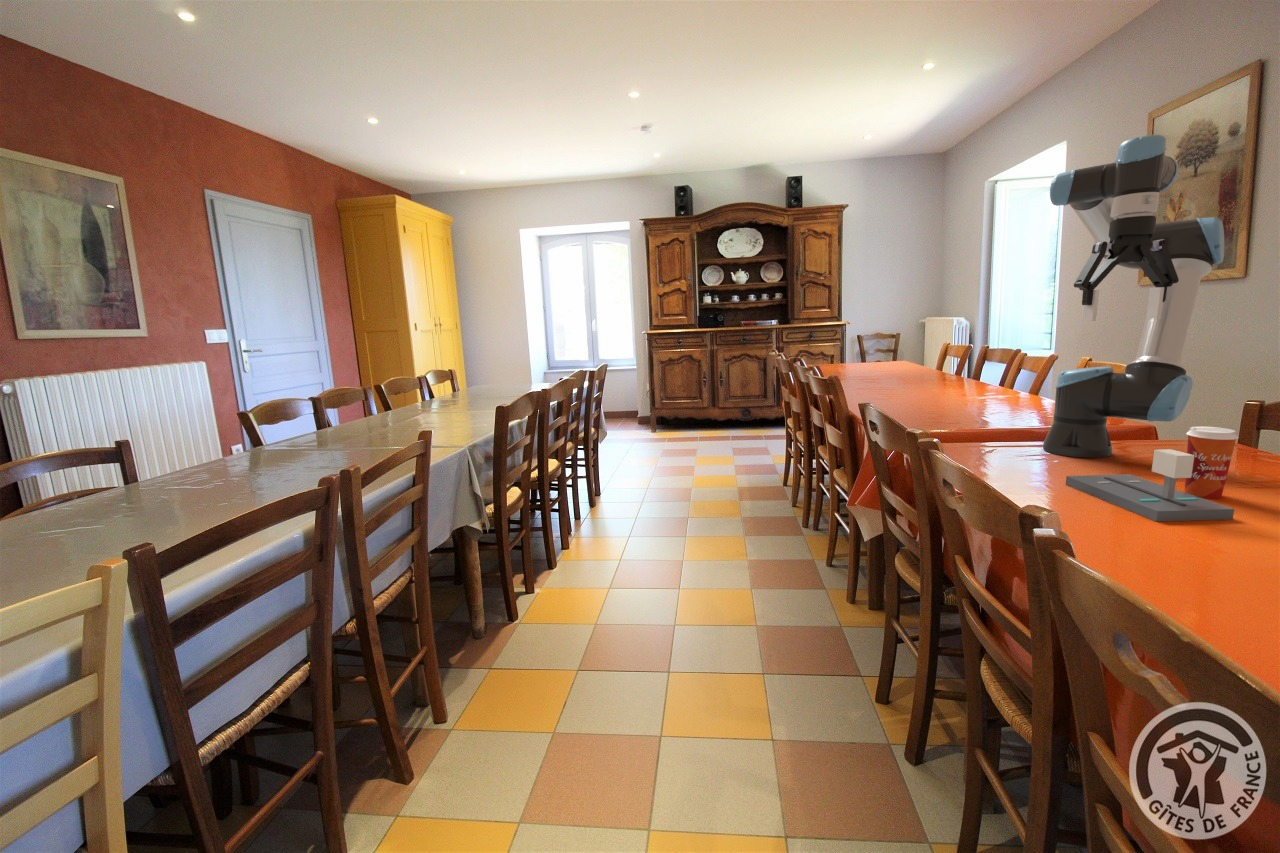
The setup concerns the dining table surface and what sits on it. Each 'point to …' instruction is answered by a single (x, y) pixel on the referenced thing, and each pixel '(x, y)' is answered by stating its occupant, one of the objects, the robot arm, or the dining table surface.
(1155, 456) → the fader
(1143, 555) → the dining table surface
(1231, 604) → the dining table surface
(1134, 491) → the console board
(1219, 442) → the paper cup
